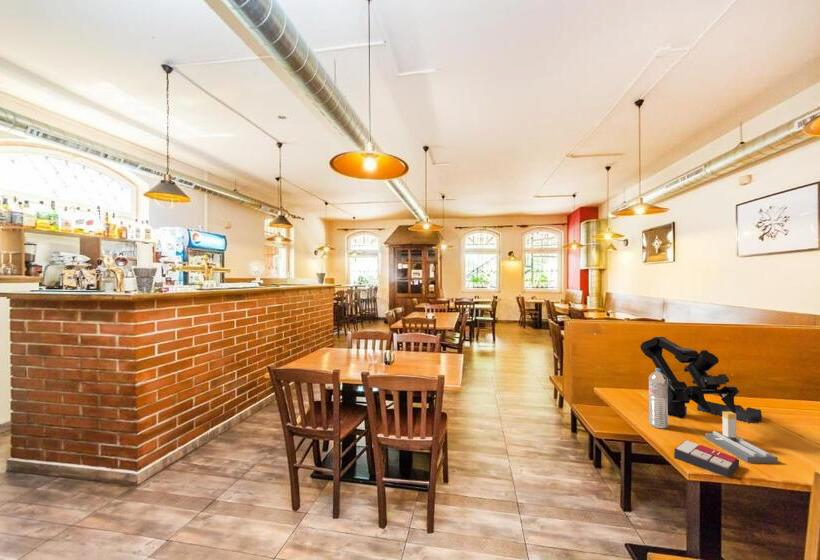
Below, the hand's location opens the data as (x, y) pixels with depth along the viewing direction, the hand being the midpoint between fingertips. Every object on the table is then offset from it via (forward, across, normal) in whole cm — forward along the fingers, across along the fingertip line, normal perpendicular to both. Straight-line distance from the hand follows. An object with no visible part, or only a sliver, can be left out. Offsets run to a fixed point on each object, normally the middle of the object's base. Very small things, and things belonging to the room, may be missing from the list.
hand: (722, 412), depth 134 cm
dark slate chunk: (-11, +26, +28) cm, 39 cm away
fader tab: (+8, 0, +4) cm, 9 cm away
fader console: (+13, 0, +3) cm, 13 cm away
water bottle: (-1, -16, +18) cm, 24 cm away
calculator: (+20, -19, -3) cm, 28 cm away
